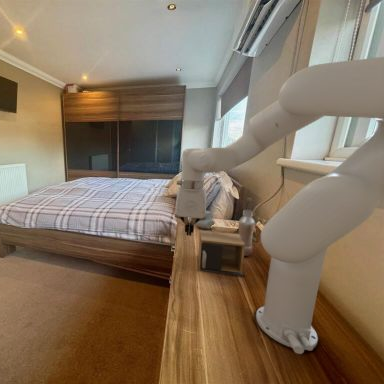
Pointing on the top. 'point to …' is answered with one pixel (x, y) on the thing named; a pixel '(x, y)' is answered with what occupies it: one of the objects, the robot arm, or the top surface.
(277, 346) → the top surface
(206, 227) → the air freshener
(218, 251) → the sliding door
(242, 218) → the plastic bottle
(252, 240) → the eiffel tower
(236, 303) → the top surface
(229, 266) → the cabinet
